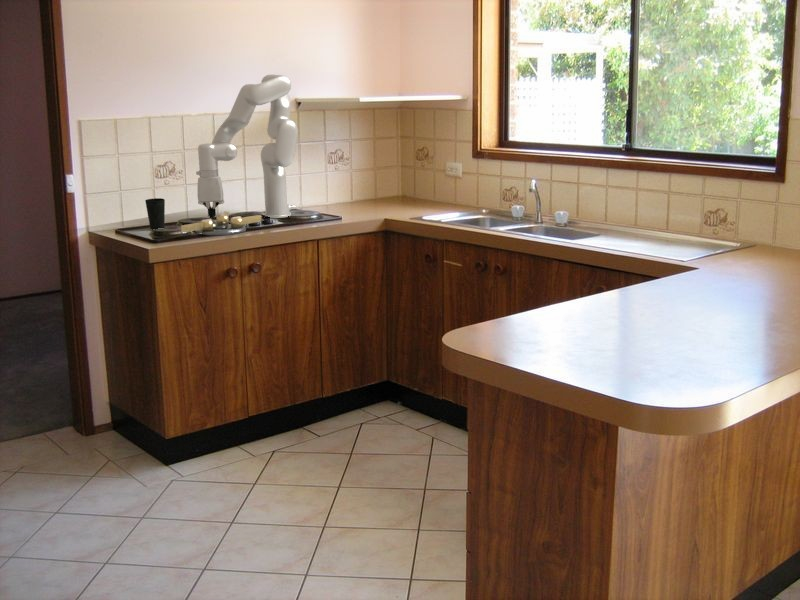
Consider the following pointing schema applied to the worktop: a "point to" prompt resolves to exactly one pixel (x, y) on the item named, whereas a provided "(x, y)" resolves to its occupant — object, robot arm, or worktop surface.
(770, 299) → the worktop surface
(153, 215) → the cup
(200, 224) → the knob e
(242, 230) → the tribrach plate
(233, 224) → the brass lever handle
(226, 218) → the knob
